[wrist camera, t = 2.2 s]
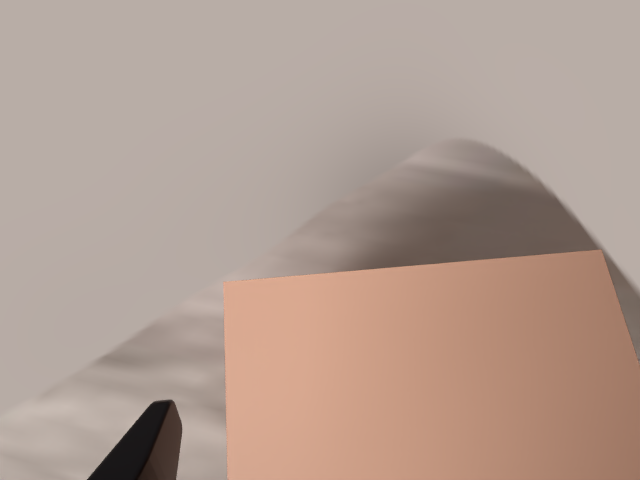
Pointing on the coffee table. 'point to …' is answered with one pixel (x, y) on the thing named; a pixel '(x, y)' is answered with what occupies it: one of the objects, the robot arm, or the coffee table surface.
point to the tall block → (433, 373)
